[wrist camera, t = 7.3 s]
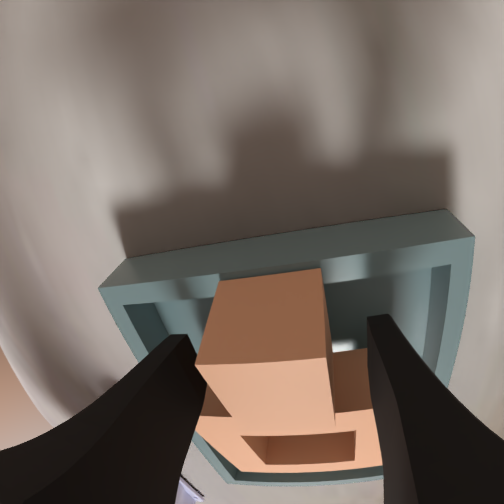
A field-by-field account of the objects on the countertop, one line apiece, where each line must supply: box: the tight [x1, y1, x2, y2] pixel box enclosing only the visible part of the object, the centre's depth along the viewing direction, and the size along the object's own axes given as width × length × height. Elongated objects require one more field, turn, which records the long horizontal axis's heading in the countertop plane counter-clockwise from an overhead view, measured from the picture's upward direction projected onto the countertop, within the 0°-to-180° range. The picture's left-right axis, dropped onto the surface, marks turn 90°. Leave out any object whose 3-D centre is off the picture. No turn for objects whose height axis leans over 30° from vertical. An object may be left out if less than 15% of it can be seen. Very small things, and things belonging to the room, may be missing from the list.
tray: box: [98, 209, 475, 486], centre depth 13 cm, size 17×13×2 cm
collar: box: [195, 268, 382, 473], centre depth 11 cm, size 12×8×3 cm, turn 14°
